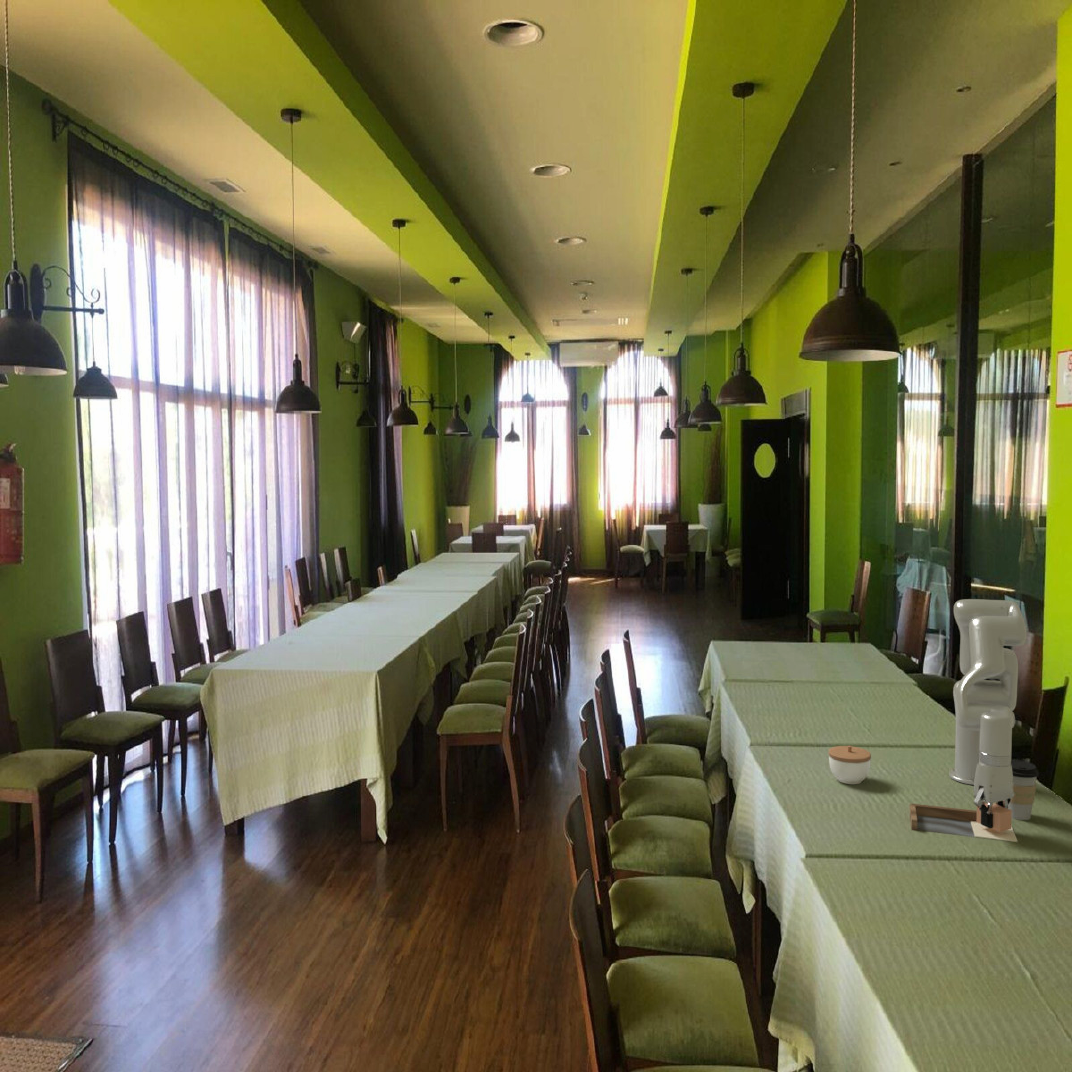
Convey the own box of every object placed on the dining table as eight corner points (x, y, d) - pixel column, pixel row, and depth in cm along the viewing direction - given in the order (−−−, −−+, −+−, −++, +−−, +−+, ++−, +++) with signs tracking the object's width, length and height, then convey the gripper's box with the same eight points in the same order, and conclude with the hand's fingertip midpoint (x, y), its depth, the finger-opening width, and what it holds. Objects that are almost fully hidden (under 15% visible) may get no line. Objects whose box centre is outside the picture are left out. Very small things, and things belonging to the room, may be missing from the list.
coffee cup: (1018, 825, 237) (1019, 772, 235) (991, 812, 246) (992, 761, 245) (1045, 821, 239) (1047, 768, 238) (1018, 808, 248) (1019, 757, 247)
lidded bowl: (874, 788, 265) (874, 753, 264) (831, 786, 268) (831, 751, 267) (866, 774, 277) (867, 740, 276) (825, 772, 280) (826, 739, 279)
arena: (909, 813, 246) (909, 803, 246) (1011, 825, 237) (1011, 814, 237) (911, 830, 235) (911, 819, 235) (1018, 843, 226) (1018, 832, 225)
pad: (970, 822, 239) (970, 821, 239) (1011, 826, 235) (1011, 825, 235) (974, 836, 229) (974, 835, 229) (1017, 842, 226) (1017, 841, 226)
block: (976, 822, 234) (976, 804, 234) (987, 818, 236) (988, 801, 236) (999, 831, 228) (1000, 813, 228) (1011, 828, 230) (1011, 810, 229)
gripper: (1004, 749, 237) (1002, 813, 239) (960, 759, 231) (959, 825, 232) (1029, 757, 231) (1027, 823, 232) (985, 768, 224) (983, 836, 225)
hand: (993, 823), depth 232 cm, fingers closed on block, 4 cm apart
